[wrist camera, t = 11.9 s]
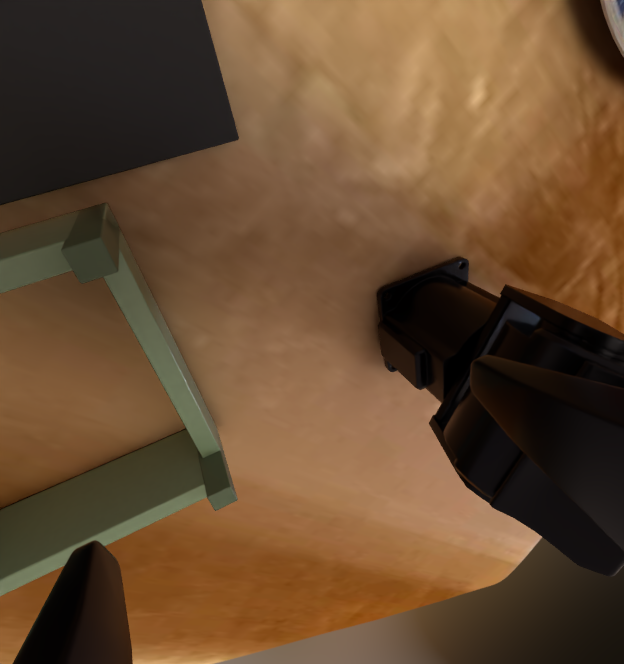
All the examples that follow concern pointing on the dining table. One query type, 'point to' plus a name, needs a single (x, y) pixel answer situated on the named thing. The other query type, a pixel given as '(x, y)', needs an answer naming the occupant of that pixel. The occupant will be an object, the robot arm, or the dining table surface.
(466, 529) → the dining table surface
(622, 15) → the ceramic plate
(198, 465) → the crate
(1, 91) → the mat
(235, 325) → the dining table surface
